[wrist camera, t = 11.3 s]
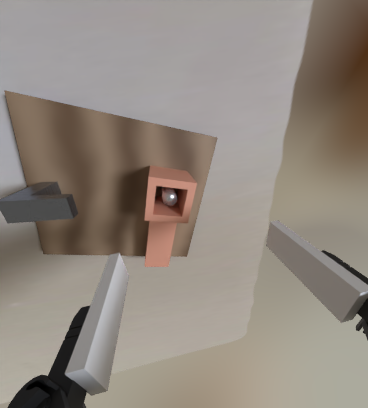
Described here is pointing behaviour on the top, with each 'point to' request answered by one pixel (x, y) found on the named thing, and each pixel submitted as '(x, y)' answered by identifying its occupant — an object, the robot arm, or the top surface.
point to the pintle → (168, 196)
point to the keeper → (38, 204)
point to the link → (166, 212)
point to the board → (104, 173)
